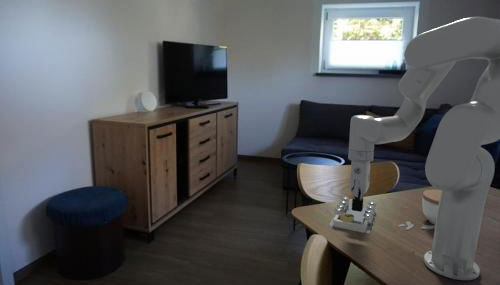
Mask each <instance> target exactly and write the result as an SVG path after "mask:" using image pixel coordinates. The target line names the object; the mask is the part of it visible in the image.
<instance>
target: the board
mask: <svg viewBox="0 0 500 285" xmlns="http://www.w3.org/2000/svg"><path fill="white" fill-rule="evenodd" d="M366 209H367V207H363V210H362V212H359V211H353V210H352V204H349V207H347V211H346V212H344V213H349V214H352V215H354V222H353V223H352V222H347V221H342V220H339V214H336V216H335V218H334V216H333V217H332V219H331V220H330V222H329V224H328V226H330V227H335V228H339V229H344V230H349V231H353V232H358V233H359V232H360V233H362V234H368V235H369V234H370V233H371V229H372V226H373V223H374V219H375V217H376V215H377V214H376V213H377V209H376V212H375V213H374V217H373V221H372V223H371V225H370V226H367V225H368V220H367V219H365V221H364V224H363V215H364V213H365V210H366Z"/></svg>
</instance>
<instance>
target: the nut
mask: <svg viewBox="0 0 500 285" xmlns="http://www.w3.org/2000/svg"><path fill="white" fill-rule="evenodd" d="M340 220H342V221H347V222H352V223H353V222H354V215H352V214H349V213H342V214H341V217H340Z"/></svg>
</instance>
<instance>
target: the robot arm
mask: <svg viewBox="0 0 500 285" xmlns="http://www.w3.org/2000/svg"><path fill="white" fill-rule="evenodd" d="M471 59H476V60H487V62H488V64H487V67H486V68H485V70H484V71H483V73H482V74H481V76H480V77H479V78H478V81H477V83H476V87H475V90H474V92H473V94H472V97H471V98H470V100H469V102H467V103H461V104H457V105H455V106H453V107H452V108H450V109H449V110H448V111H447V112H446V113H445V114H444V115H443V116H442V118H441V120H440V122H439V124H438V126H437V130H436V132H435V135H434V137H433V141H432V144H431V146H430V148H429V152H428V155H427V157H426V161H425V166H424V168H425V171H424V172H425V176H426V179H427V181H428V182H429V184H430V185H431V186H432V187H433V188H435V189H436V190H442V191H441V195H440V199H439V205H438V212H437V218H436V225H435V228H434V231H433V238H432V247H431V250H429V251H426V252H425V253H424V255H423V259H422V260H423V263H424V264H425V266H426V267H428V269H429V270H431V271H433V272H435V273H436V274H438V275H440V276H442V277H445V278H449V279H452V280H458V281H472V280H476V279H478V278H479V276H480V274H481V268H480V267H479V265H478V264H477V263H476V262H475V260H476V259H475V258H476V254H477V248H478V242H479V238H480V237H479V236H480V231H481V225H482V220H483V215H484V209H485V204H486V199H487V196H488V193H489V190H490V187H491V185H492V182H493V179H494V176H495V168H496V167H495V161H494V159H493V156H492V154H491V153H490V152H489V151H488V150H486V149H485V148H483V147H482V146H484V145H488V144H493V143H495V142H497V141H499V140H500V19H497V18H493V17H492V18H490V17H485V16H470V17H466V18H465V17H464V18H462V19H459V20H455V21H454V22H450V23H448V24H444V25H442V26H439V27H437V28H433V29H430V30H428V31H425V32H422V33H420V34H418V35H416V36H415V37H414V38H412V39H411V40H409V42H408V44H407V45H406V47H405V49H404V61H405V63H406V64H407V66H409V67H408V69H407V70H406V72H405V73H404V74H403V76H402V77H401V79H400V80H399V81H398V82H397V83H398V84H397V88H398V91H399V92H400V93H401V95H403V96H404V98H403V102H402V104H401V106H400V108H399V109H397V112H395V113H394V115H393V116H384V117H383V116H382V117H377V118H376V117H374V116H372V115H365V114H358V115H353V116H351V119H350V123H349V126H350V128H349V140H348V141H349V142H348V156H347V160H349V161H351V165H350V176H349V177H350V179H349V191H350V192H352V199H351V201H352V202H351V205H352V210H353V211H359V212H362V210H363V208H364V194H366V193H367V192H368V191H369V187H370V178H371V177H370V176H371V173H370V172H371V162H373V161H374V154H375V152H374V151H375V145H382V144H389V143H393V142H401V141H403V140H404V139H406V138H408V137H409V136H410V134H411V133H412V132H413V131H414V130H415V129H416V127H417V126H418V124H419V123H420V122H421V120H422V119H423V117H424V115H425V111H426V108H427V101H428V99H429V98H430V96H431V95H432V94H433V92H435V90H436V89H437V87H438V86H439V85H440V84H441V82H442V81H443V80H444V79H445V77H447V75H448V73H449V72H450V71H451V69H452V68H453V67H455V64H456V63H457V62H461V61H465V60H471Z"/></svg>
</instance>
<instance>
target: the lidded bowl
mask: <svg viewBox="0 0 500 285" xmlns="http://www.w3.org/2000/svg"><path fill="white" fill-rule="evenodd" d="M441 191H442V190H439V189H426V190H424V191H423V192H422V200H421V201H422V202H421V207H422V211H423V214H424V216H425V218H427V220H428V223H430V224H433V225H436V218H437V212H438V205H439V199H440V195H441Z"/></svg>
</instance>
